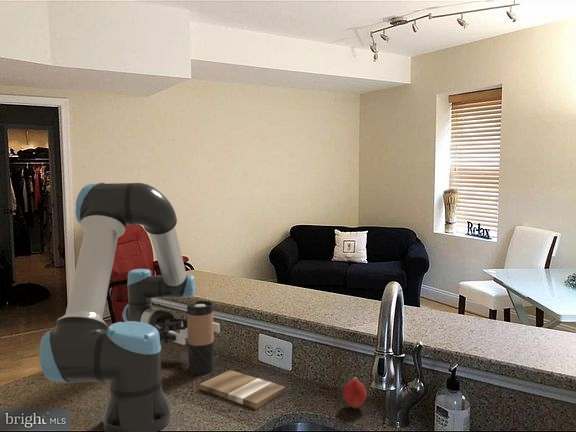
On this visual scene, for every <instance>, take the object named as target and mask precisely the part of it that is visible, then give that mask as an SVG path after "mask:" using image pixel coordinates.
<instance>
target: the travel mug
mask: <svg viewBox="0 0 576 432" xmlns="http://www.w3.org/2000/svg"><path fill="white" fill-rule="evenodd" d="M186 306H187V307H186V316H187V328H186V329H187V351H188V353H187V354H188V369H189V370H188V371H189V372H190V373H191V374H195V375H204V374H205V375H206V374H208V373H211V372H213V371H214V364H215V362H214V360H215V359H214V358H215V357H214V354H215V352H214V350H215V349H214V348H215V345H214V343H215V341H214V340H215V335H214V333H215V332H213V322H214V311H213V310H214V308H213V302H212V301H207V300H199V301H195V303H190V302H189V303H187V305H186Z"/></svg>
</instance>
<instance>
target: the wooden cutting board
mask: <svg viewBox="0 0 576 432" xmlns="http://www.w3.org/2000/svg"><path fill="white" fill-rule="evenodd" d="M199 390H201V391H204V392H206V393H210V394H212V395H215V396H219V397H221V398H223V399H227V400H229V401H232V402H234V403H235V402H236V403H237V404H241V405H244V406H246V407H249V408H252V409H255V410H257V409H259V408H261V407H263V406H264V405H266V404H268V403H270V402H271V401H273V400H274V399H276V398H278V397H280V396H281V395H283V394H285V393H286V386H284V385H281V384H277V383H275V382H272V381H268V380H266V379H265V380H264V379H262V378H259V377H254V376H252V375H247V374H245V373H241V372H238V371H234V370H231V369H229V370H227V371H224V372H222V373H221V374H218V375H216V376H214V377H211V378H209V379H208V380H205V381H203V382H201V383H200V384H199Z"/></svg>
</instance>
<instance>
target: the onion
mask: <svg viewBox="0 0 576 432" xmlns="http://www.w3.org/2000/svg"><path fill="white" fill-rule="evenodd" d="M342 389H343V390H342V397H343V399H344V401H345V403H346V404H348V405H349V406H350V407H351V408H353V409H357V408H359V407H360V406H361V405H363V404H364V402H365V401H366V399H367V390H366V388H365V385H364V384H363V383H362V382H361V381H360V380H358V378H357V377H356V376H355V377H353V378H352V379H350V380H349V381H347V382H346V383H345V385H344V387H343V388H342Z"/></svg>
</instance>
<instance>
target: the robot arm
mask: <svg viewBox="0 0 576 432" xmlns="http://www.w3.org/2000/svg"><path fill="white" fill-rule="evenodd" d="M77 194H78V195H77V197H76V200H75V201H76V202H75V207H76V208H75V218H76V220H77V222H78V223H79V225H80V228H81V229H82V231H83V232H84V233H83V237H82V241H81V245H80V250H79V254H78V258H77V263H76V267H75V272H74V276H73V280H72V284H71V289H70V293H69V297H68V303H67V307H66V309H65V314H64V315H63V316H61V317H59V318H57V320H56V324H55V327H54V329H50V330H48V331H45V332H44V334H43V336H42V337H41V340H40V344H39V357H38V358H39V363H40V367H41V370H42V373H43V374H44V377H45V378H46V379H47V380H49V381H50V382H54V383H55V382H57V383H58V382H59V383H62V382H63V383H65V384H68V383H69V384H70V383H79V382H80V383H89V382H96V383H97V382H107V383H109V389H110V390H109V396H108V397H109V398H108V401H107V404H106V408H105V412H104V414H103V419H102V421H103V431H104V432H159V431H161V430H162V429H164V428H165V427H166V426H167V425H169V423H170V420H171V409H170V408H171V407H170V406H169V403H168V400H167V397H166V395H165V392H164V389H163V385H162V353H161V352H162V344H161V342H162V340H163V343H164V344H168V343H169V341H170V342H172V343H177V344H180V345H182V346H183V345H184V346H185V345H186V335H185V334H183V333H179V332H176V331H179V330H180V331H181V330H186V329H187V315H182V316H181V317H177V316H176V317H175V316H174V315H173V313H172V312H170V311H168V310H163V309H160V308H157V307H153V306H152V302H153V301H152V299H171V298H172V299H184V298H185V299H186V298H192V297H193V296H194V295H195V293H196V278H195V276H194V275H192V274H187V271H186V268H185V264H184V258H183V255H182V251H181V246H180V243H179V239H178V234H177V233H178V232H177V229H176V226H177V223H178V218H177V215H176V214H177V213H176V210H175V209H174V207H173V205H172V203H171V202H170V201H169V200H168V198H167V197H166V196H165V195H164V194H163V193H162V192H161V191H160V190H158V189H157V188H156V187H154V186H151V185H150V184H147V183H143V182H122V183H120V182H115V183H114V182H113V183H105V182H97V183H88V184H85V185H84V186H83V187H82V188H81V189H80V191H79V193H77ZM131 225H134V226H136V225H140V226H143V229H144V230H145V232H146V233H147V234H149V237H150V240H151V243H152V246H153V250H154V252H155V257H156V260H157V262H158V266H159V269H160V270H159V271H160V273H161V275H160V274H159V275H158V274H157V275H155V274H154V275H153V274H152V271H151V270H150V269H148V268H135V269H132V270H130V271H128V273H127V284H126V285H127V299H128V300H127V303H128V304H126V305H125V307H124V309H123V311H122V316H121V317H122V319H123V321H118V322H115V323H112V324H110V325H109V326H108V324H107V323H106V322H105V320H104V319H103V317H104V312H105V309H106V303H107V297H108V292H109V285H110V281H111V276H112V271H113V266H114V261H115V255H116V249H117V244H118V240H119V238H120V237H122V236H123V235H125V232H126V227H127V226H131ZM213 332H214V333H217V334H219V333H221V324H220V323H218V322H214V321H213Z"/></svg>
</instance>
